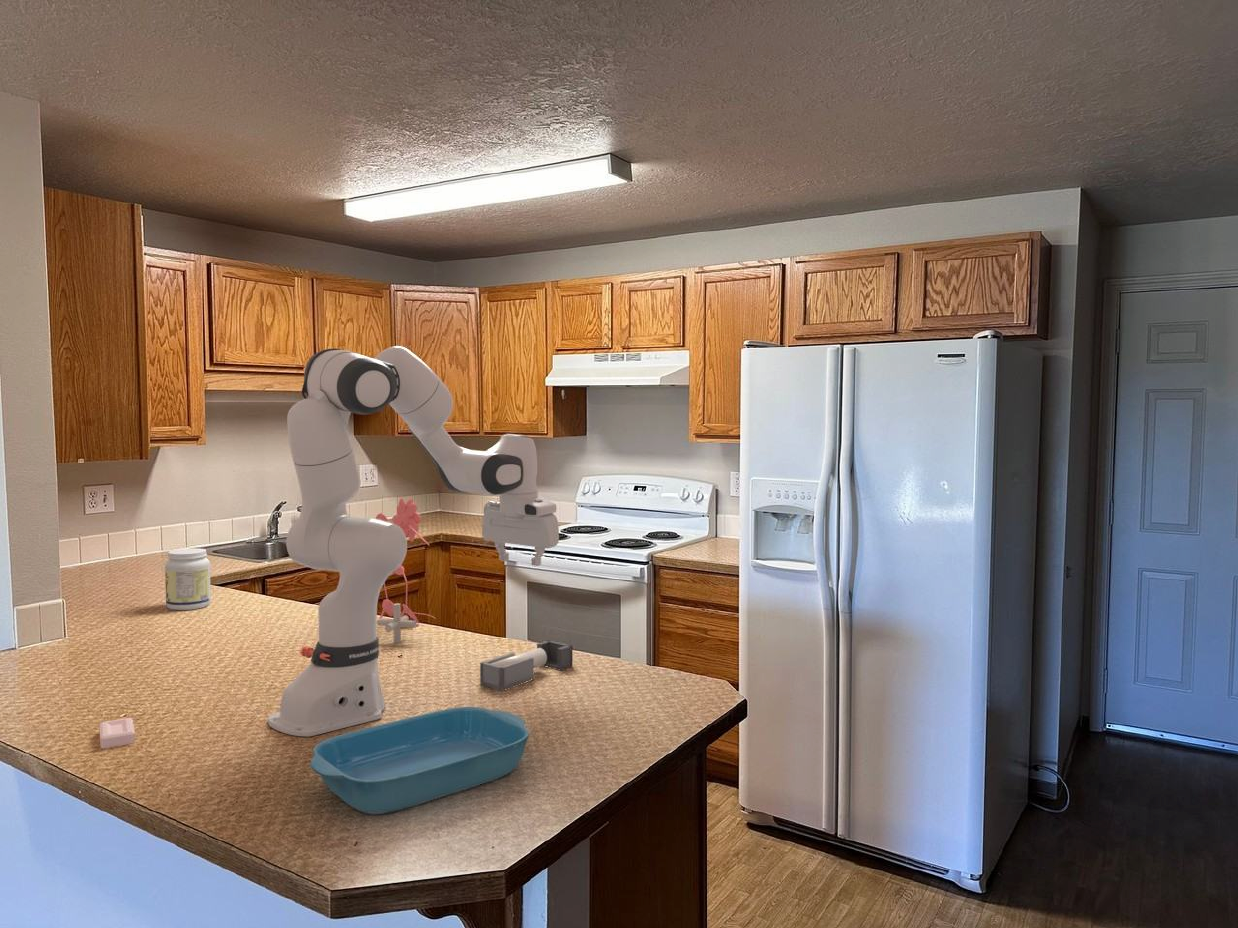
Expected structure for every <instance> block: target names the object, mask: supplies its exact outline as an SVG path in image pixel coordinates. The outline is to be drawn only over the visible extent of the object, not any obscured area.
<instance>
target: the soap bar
mask: <svg viewBox="0 0 1238 928" xmlns="http://www.w3.org/2000/svg"><path fill="white" fill-rule="evenodd" d="M135 742H136V732H135V726H134V719H133V718H132V717H126V718H119V719H114V720H107V721H102V722H100V723H99V743H100V744H99V745H100V749H107V748H114V747H119V746H124V745H125V746H127V745H132V744H135Z"/></svg>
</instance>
